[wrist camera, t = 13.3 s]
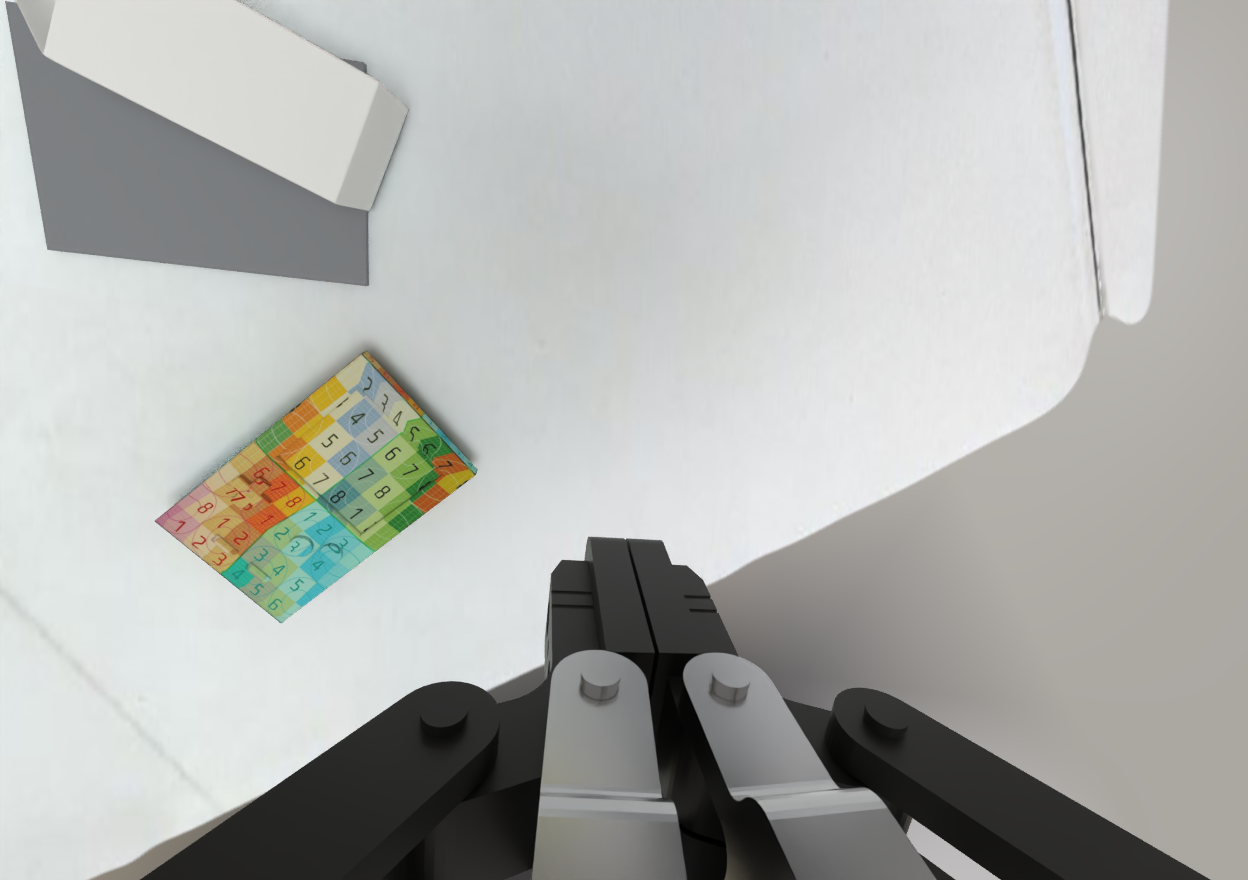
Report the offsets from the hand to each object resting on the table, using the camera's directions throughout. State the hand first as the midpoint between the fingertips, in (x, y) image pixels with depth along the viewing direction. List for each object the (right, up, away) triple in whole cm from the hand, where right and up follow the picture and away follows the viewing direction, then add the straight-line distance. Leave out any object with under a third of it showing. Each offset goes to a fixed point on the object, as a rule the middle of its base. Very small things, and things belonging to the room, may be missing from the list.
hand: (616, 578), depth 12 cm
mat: (-27, +21, +26) cm, 44 cm away
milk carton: (-15, +20, +24) cm, 35 cm away
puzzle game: (-23, 0, +35) cm, 42 cm away
